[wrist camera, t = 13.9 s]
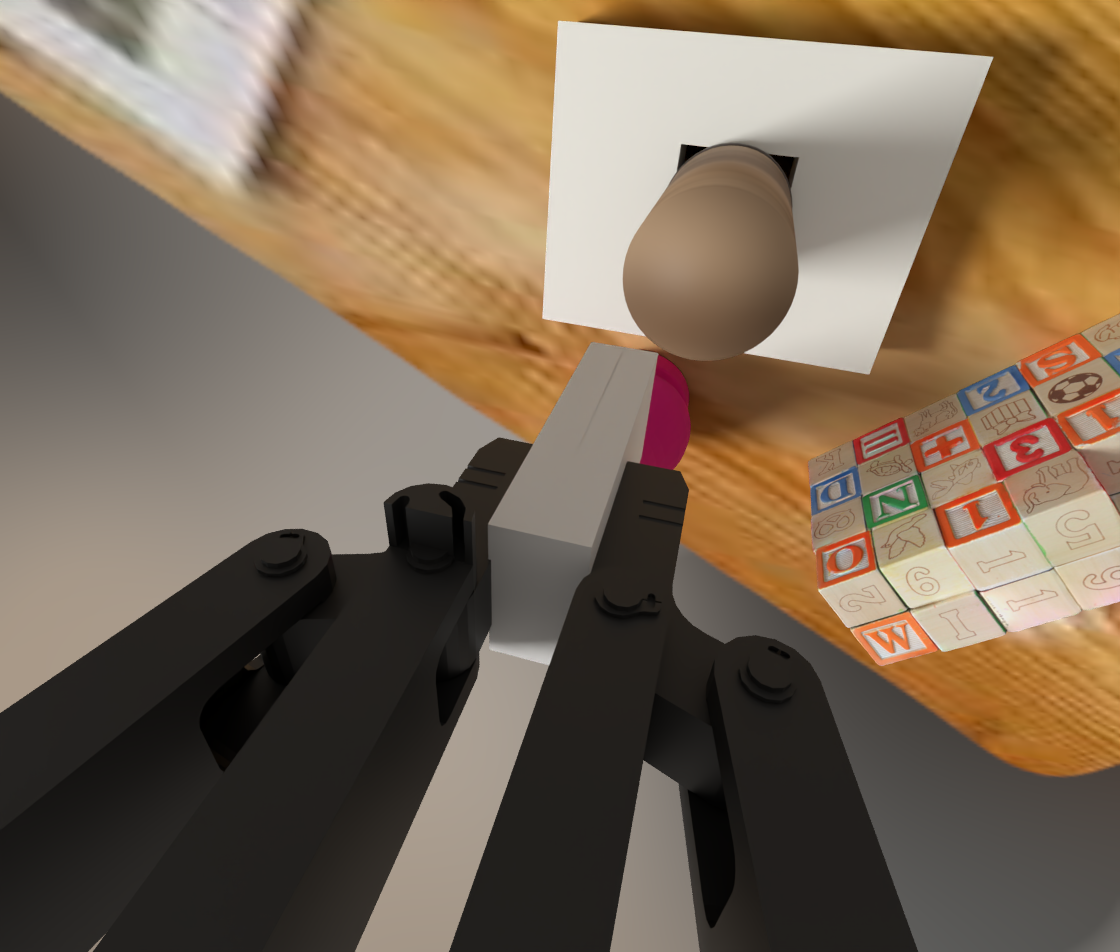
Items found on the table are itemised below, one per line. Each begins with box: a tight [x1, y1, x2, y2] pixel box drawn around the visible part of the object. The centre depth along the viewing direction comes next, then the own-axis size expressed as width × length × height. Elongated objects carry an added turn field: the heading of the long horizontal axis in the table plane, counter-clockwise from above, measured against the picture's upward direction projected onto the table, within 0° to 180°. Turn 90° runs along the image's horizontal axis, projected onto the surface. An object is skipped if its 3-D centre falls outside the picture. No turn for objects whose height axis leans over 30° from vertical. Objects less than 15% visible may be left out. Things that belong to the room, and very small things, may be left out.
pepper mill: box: [640, 355, 691, 470], centre depth 34 cm, size 7×7×20 cm
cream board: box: [543, 21, 993, 374], centre depth 32 cm, size 14×18×4 cm
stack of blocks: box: [808, 314, 1120, 666], centre depth 31 cm, size 21×6×12 cm, turn 132°
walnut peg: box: [623, 143, 799, 361], centre depth 28 cm, size 6×6×14 cm
